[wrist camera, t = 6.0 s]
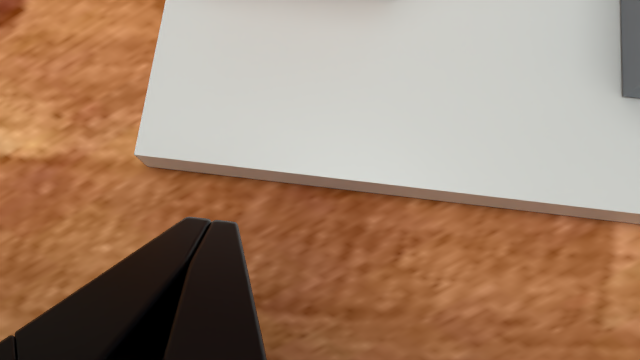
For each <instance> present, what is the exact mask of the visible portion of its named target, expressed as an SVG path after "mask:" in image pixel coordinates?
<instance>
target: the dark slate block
mask: <svg viewBox="0 0 640 360" xmlns="http://www.w3.org/2000/svg"><path fill="white" fill-rule="evenodd" d="M621 29H622V76H623V96H625V97H633V98H640V0H621Z"/></svg>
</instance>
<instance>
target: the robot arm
mask: <svg viewBox="0 0 640 360" xmlns="http://www.w3.org/2000/svg"><path fill="white" fill-rule="evenodd" d="M0 360H267V358H266V353H265V349H264V344H263V339H262V335H261V330H260V325H259V321H258V316H257V311H256V307H255V302H254V298H253V293H252V288H251V284H250V279H249V274H248V270H247V265H246V260H245V256H244V251H243V247H242V242H241V237H240V233H239V228H238V225H237V223H235V222H230V221H221V220H214V221H213V222H211V220H209V219H204V218H196V217H186V218H184V219H183V220H181V221H180V222H178V223H177V224H175V225H174V226H172V227H171V228H169V229H168V230H166V231H165V232H163V233H162V234H160V235H159V236H157V237H156V238H155V239H153V240H152V241H150V242H149V243H147V244H146V245H144V246H143V247H141V248H140V249H138V250H137V251H135V252H134V253H132V254H131V255H129V256H128V257H126V258H125V259H123V260H122V261H120V262H119V263H117V264H116V265H114V266H113V267H111V268H110V269H108V270H107V271H105V272H104V273H102V274H101V275H99V276H98V277H97V278H95V279H94V280H92V281H91V282H89V283H88V284H86V285H85V286H83V287H82V288H80V289H79V290H77V291H76V292H74V293H73V294H71V295H70V296H68V297H67V298H65V299H64V300H62V301H61V302H59V303H58V304H56V305H55V306H53V307H52V308H50V309H49V310H47V311H46V312H44V313H43V314H41V315H40V316H39V317H37V318H36V319H34V320H33V321H31V322H30V323H28V324H27V325H25V326H24V327H22V328H21V329H19V330H18V331H16V333H15V337H14V336H13V335H10V336H8V337H7V338H5V339H4V340H2V341H1V342H0Z"/></svg>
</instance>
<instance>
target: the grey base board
mask: <svg viewBox="0 0 640 360" xmlns="http://www.w3.org/2000/svg"><path fill="white" fill-rule="evenodd" d="M134 155H135V156H136V157H137V158H138V159H140V160H141V161H142V162H143V163H144V164H145V165H146V166H148V167H156V168H165V169H173V170H182V171H190V172H199V173H207V174H216V175H224V176H233V177H241V178H250V179H259V180H267V181H276V182H284V183H293V184H301V185H310V186H318V187H327V188H335V189H344V190H352V191H361V192H369V193H378V194H386V195H395V196H403V197H412V198H420V199H429V200H438V201H446V202H455V203H463V204H472V205H480V206H489V207H497V208H506V209H514V210H523V211H531V212H540V213H548V214H557V215H565V216H574V217H582V218H591V219H600V220H608V221H617V222H625V223H634V224H640V98H633V97H625V96H623V76H622V29H621V0H166V2H165V7H164V11H163V16H162V21H161V26H160V31H159V36H158V41H157V46H156V50H155V55H154V60H153V65H152V70H151V75H150V80H149V84H148V89H147V94H146V99H145V104H144V109H143V114H142V119H141V123H140V128H139V133H138V138H137V143H136V148H135V153H134Z"/></svg>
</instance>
